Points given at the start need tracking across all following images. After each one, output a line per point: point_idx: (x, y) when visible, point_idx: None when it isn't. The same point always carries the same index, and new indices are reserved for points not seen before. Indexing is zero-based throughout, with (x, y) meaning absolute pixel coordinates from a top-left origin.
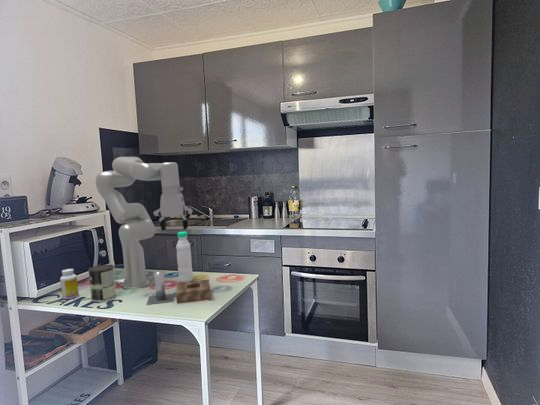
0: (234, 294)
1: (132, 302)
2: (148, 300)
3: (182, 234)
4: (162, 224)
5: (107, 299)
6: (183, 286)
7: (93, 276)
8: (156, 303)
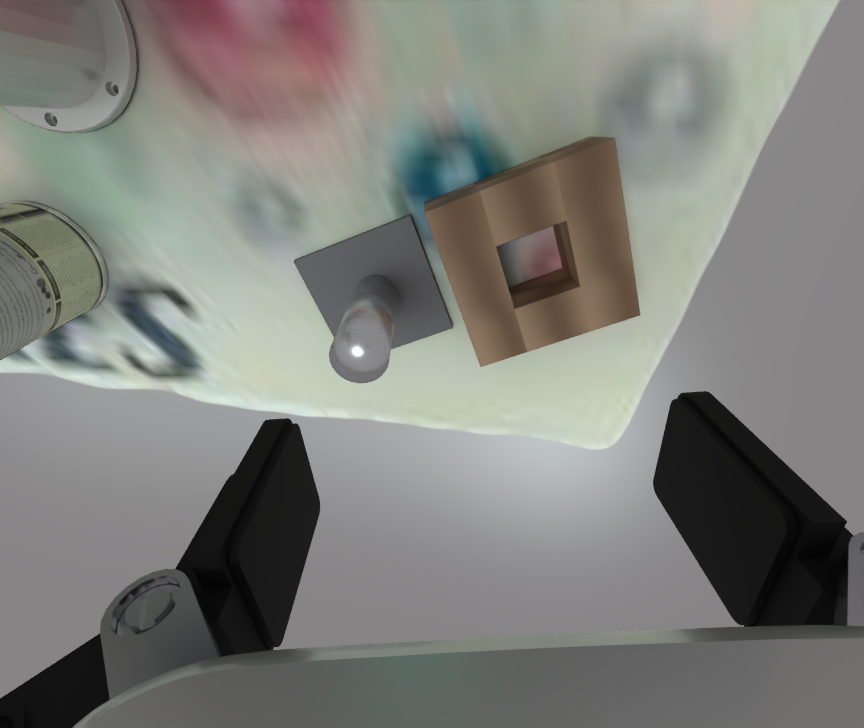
0: (730, 215)
1: (252, 317)
2: (324, 313)
3: None
4: (285, 602)
5: (100, 297)
6: (485, 276)
7: None
8: None
